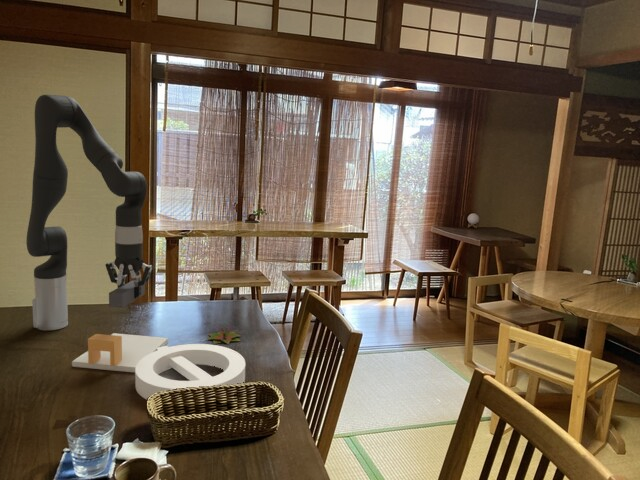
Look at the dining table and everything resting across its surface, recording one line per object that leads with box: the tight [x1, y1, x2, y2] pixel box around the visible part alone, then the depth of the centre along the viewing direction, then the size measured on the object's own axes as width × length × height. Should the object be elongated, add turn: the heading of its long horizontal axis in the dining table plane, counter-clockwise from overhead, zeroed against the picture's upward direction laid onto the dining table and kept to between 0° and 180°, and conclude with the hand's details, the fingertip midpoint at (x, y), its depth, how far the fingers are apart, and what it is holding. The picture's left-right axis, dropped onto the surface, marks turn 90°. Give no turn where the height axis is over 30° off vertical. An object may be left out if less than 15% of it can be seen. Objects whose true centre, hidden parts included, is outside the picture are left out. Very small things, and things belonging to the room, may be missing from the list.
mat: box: [71, 332, 169, 373], centre depth 144 cm, size 18×22×2 cm
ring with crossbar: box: [134, 343, 246, 400], centre depth 130 cm, size 28×28×5 cm
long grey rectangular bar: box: [108, 279, 146, 308], centre depth 144 cm, size 4×14×4 cm, turn 174°
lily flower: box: [206, 325, 241, 345], centre depth 160 cm, size 12×12×5 cm
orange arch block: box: [87, 333, 122, 366], centre depth 133 cm, size 7×4×7 cm, turn 84°
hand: (129, 297), depth 145 cm, fingers closed on long grey rectangular bar, 4 cm apart
